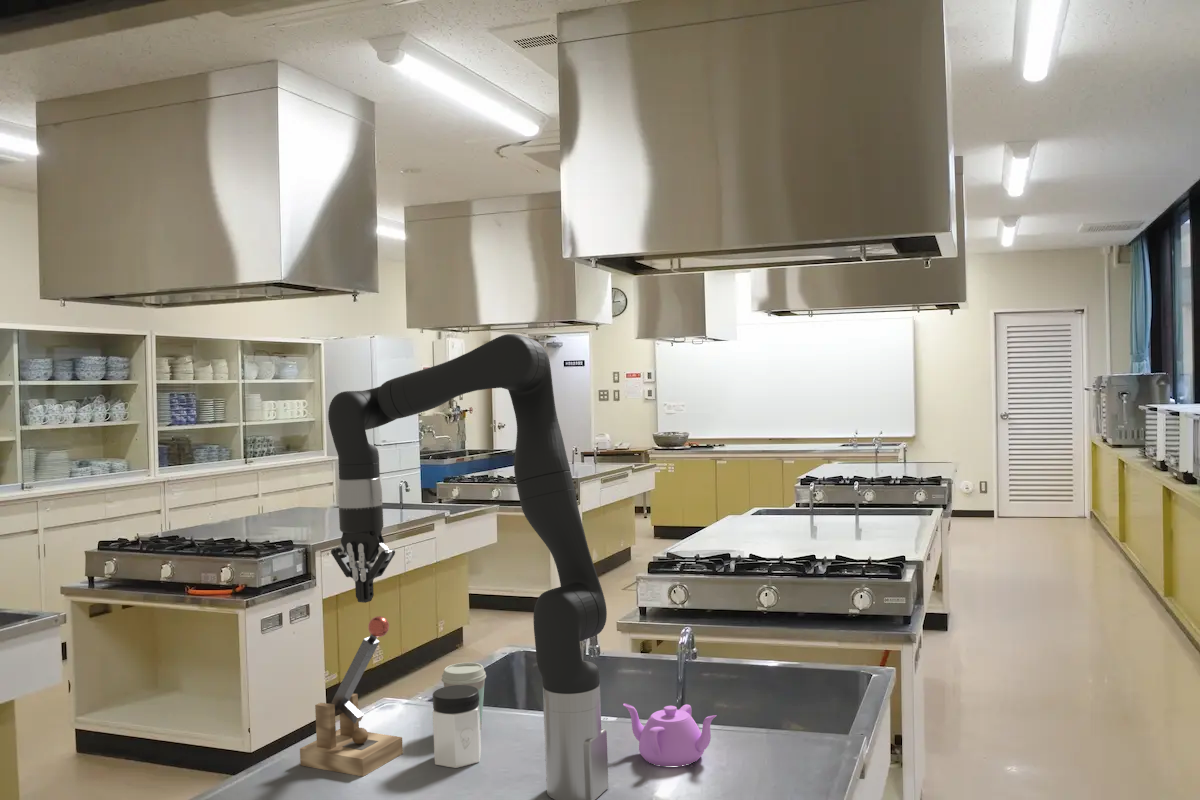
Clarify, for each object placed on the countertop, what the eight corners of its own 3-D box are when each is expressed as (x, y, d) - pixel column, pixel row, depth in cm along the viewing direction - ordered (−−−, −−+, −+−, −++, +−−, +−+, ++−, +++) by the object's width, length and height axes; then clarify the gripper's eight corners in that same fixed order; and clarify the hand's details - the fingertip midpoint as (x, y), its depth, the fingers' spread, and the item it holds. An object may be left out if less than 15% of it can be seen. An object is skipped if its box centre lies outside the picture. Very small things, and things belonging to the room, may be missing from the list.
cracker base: (402, 753, 178) (400, 696, 178) (363, 776, 168) (360, 715, 168) (342, 743, 184) (339, 688, 184) (300, 765, 174) (298, 706, 174)
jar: (444, 772, 169) (442, 702, 168) (425, 758, 175) (423, 691, 175) (491, 759, 174) (488, 692, 173) (471, 746, 180) (468, 681, 180)
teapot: (719, 765, 167) (717, 714, 167) (639, 775, 164) (638, 722, 164) (698, 741, 179) (696, 693, 179) (624, 749, 176) (622, 700, 176)
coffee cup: (497, 726, 191) (494, 664, 190) (469, 740, 183) (466, 676, 183) (463, 719, 195) (460, 659, 195) (434, 733, 188) (431, 671, 188)
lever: (361, 725, 178) (410, 633, 172) (345, 733, 174) (395, 639, 168) (336, 702, 180) (383, 609, 175) (320, 709, 176) (368, 615, 171)
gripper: (404, 501, 174) (408, 599, 174) (345, 500, 180) (349, 595, 180) (377, 507, 167) (381, 608, 167) (316, 505, 173) (321, 603, 173)
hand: (364, 601), depth 174 cm, fingers closed
